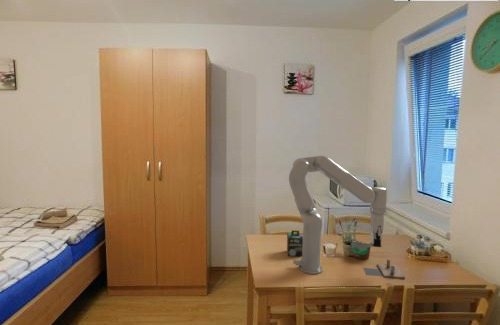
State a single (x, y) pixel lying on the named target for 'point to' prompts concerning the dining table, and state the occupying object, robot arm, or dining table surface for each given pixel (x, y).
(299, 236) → the chalk box
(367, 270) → the mat
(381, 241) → the sleeve
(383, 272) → the pinboard
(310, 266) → the robot arm
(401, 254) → the dining table surface
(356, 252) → the food container
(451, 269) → the dining table surface
